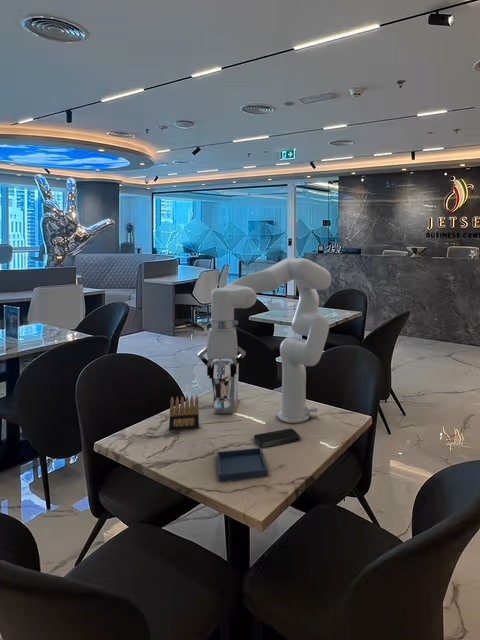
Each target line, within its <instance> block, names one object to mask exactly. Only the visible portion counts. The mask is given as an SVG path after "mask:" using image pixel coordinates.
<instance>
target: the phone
mask: <svg viewBox="0 0 480 640" xmlns="http://www.w3.org/2000/svg"><path fill="white" fill-rule="evenodd" d="M300 438H301V436H300V434H299V433H298V432H297V431H296V430H295V429H294V428H285V429H279V430H273V431H269V432H263V433H257V434H254V435H253V440H254V442H255V443H256V444H257V446H258V448H266V447H271V446H277V445H282V444H286V443H293V442H297V441H300V440H301V439H300Z"/></svg>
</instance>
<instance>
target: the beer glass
mask: <svg viewBox="0 0 480 640" xmlns="http://www.w3.org/2000/svg"><path fill="white" fill-rule="evenodd" d="M211 365H212V378H211V379H210V380H211V386H212V393H213V400H212V407H211V408H212V409H214V410H215V409H217V410H223V409H227V408H229V407H230V406H231V405H230V398H229V394H230V388H231V382H232V362H231V361H230V360H220V359H215V360H213V361H212V363H211Z"/></svg>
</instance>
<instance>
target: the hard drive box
mask: <svg viewBox="0 0 480 640" xmlns="http://www.w3.org/2000/svg"><path fill="white" fill-rule="evenodd" d="M239 355H240V354H239ZM239 355H238V354H237V356H236V357H235V359H236V358H237V357H238V356H239ZM219 360H230V361H231V362H232V363H233V361H232V359H231V358H227V359H219ZM239 364H240V362H239V363H238V364H237V366H236V374H235V377H232V382H231V388H230V394H229V398H230V405H231V406H230V407H229V408H227V409H223V410H217V409H214V413H215V414H235V410H236V408H237V405H238V402H239V367H240V365H239Z"/></svg>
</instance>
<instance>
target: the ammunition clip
mask: <svg viewBox="0 0 480 640" xmlns="http://www.w3.org/2000/svg"><path fill="white" fill-rule="evenodd" d="M184 400H185V401H184ZM169 404H170V405H169V422H168V423H169V424H168V431H182V430H194V429H195V430H197V429H199V428H200V405H199V396H198V395H195V399H194V396H193V395H191V397H190V400H189V396H188V395H187V396H186V397H185V399H184V396H183V395H182V396H181V398H180V401H179V397H178V396H176V398H175V400H174V397H173V396H171V397H170V403H169Z"/></svg>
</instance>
